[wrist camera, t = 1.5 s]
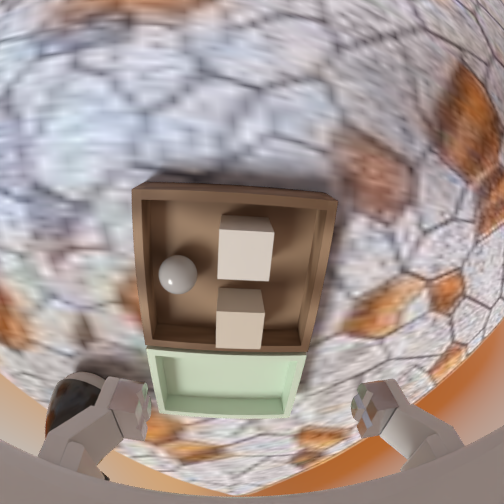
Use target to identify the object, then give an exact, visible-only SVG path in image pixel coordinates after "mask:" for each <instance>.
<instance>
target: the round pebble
mask: <svg viewBox="0 0 504 504" xmlns="http://www.w3.org/2000/svg"><path fill="white" fill-rule="evenodd" d="M159 280H160V283H161V285H162V286H163V288H164V289H165V290H167V291H168V292H170V293H172V294H184V293H186V292H188V291H190V290H191V289H192V288H193V287H194V285H195V283H196V281H197V269H196V266H195V264H194V263H193V262H192V261H191V260H190V259H189V258H187V257H185V256H182V255H173V256H170V257H168V258H167V259H165V260H164V261H163V263H162V264H161V266H160V268H159Z"/></svg>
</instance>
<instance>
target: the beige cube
mask: <svg viewBox="0 0 504 504" xmlns="http://www.w3.org/2000/svg"><path fill="white" fill-rule="evenodd" d="M264 317H265V310H264V305H263V299H262V293H261V290H260V289H236V288H218V298H217V311H216V348H232V349H260V348H261V340H262V333H263V325H264Z"/></svg>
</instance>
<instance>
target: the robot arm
mask: <svg viewBox="0 0 504 504" xmlns="http://www.w3.org/2000/svg"><path fill="white" fill-rule="evenodd" d="M357 391H358V394H357V395H356V396H355V397H354V398H353V400H352V403H351V412H352V415H353V418H354V419H355V420H357V421H358V425H357V428H358V431H359V433H360V436H361V438H367V437H372V436H378V435H380V437H382V439H384V440H385V441H386V442H387V443H388V444H390V445H391V446H392V447H393V448H394V449H396V450H397V451H398V452H399V453H400V454H402V455H403V456H404V457H405V458H407V459H408V461H407V462H406V463H405V464H404V465H403V466H402V468H401V469H400V470H401V472H399V473H396V474H392V475H389V476H386V477H382V478H379V479H375V480H371V481H367V482H363V483H358V484H354V485H349V486H344V487H340V488H334V489H328V490H323V491H316V492H308V493H300V494H291V495H279V496H264V497H263V496H261V497H216V496H215V497H214V496H198V495H187V494H177V493H169V492H162V491H155V490H149V489H143V488H138V487H133V486H128V485H124V484H119V483H115V482H111V481H107V480H104V479H105V477H104V475H103V474H102V473H101V471H100V470H99V469H98V467H97V466H96V464H97V463H98V462H100V461H101V460H102V459H103V458H104V457H105V456H106V455H107V454H108V453H109V452H110V451H111V450H113V449H114V448H115V447H116V446H117V445H118V444H119V443H120V442H121V441H122V440H123V438H126V439H132V440H139V441H145V437H146V433H147V425H146V422H147V421H148V420H149V419H150V415H151V399H150V396H149V395H147V392H148V386H147V383H145V382H139V381H133V380H128V379H122V378H116V377H111V376H109V377H108V378H107V379H106V380H105V383H104V385H103V387H102V389H101V392H100V394H99V396H98V399H97V401H96V404H95V406H89V407H88V408H86V409H85V410H83V411H82V412H80V413H79V414H77V415H75V416H74V417H72V418H71V419H69V420H67V421H66V422H64V423H63V424H61V425H60V426H58V427H56V428H55V429H53V430H51V431H50V432H48V434H47V437H46V439H45V441H44V443H43V446H42V448H41V450H40V453H39V455H38V457H36V456H34V455H32V454H29V453H27V452H25V451H23V450H21V449H19V448H17V447H14V446H13V445H11V444H9V443H7V442H5V441H3V440H1V439H0V504H504V426H502V427H500V428H499V429H497V430H495V431H493V432H491V433H490V434H488V435H486V436H484V437H482V438H481V439H478V440H477V441H475V442H473V443H471V444H469V445H467V446H464V444H463V443H462V441H461V439H460V437H459V436H458V434H457V433H456V431H455V429H454V428H453V427H452V426H451V425H449V424H447V423H445V422H444V421H442V420H440V419H438V418H436V417H435V416H433V415H431V414H429V413H428V412H426V411H424V410H422V409H421V408H419V407H417V406H415V405H414V404H411V405H410V403H409V402H408V400H407V398H406V397H405V395H404V393H403V392H402V390H401V388H400V387H399V385H398V383H397V382H396V380H394V379H388V380H382V381H374V382H367V383H361V384H360V385H359V386H358V389H357Z"/></svg>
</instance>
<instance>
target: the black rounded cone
mask: <svg viewBox="0 0 504 504" xmlns="http://www.w3.org/2000/svg"><path fill="white" fill-rule="evenodd" d="M104 383H105V379H103V378H102V377H100V376H98V375H95V374H92V373H88V372H76V373H73V374H70V375H68V376H67V377H66V378H64V379H63V380H61V381H59V382H58V383H57V385H56V387H55V389H54V391H53V394H52V397H51V400H50V403H49V406H48V411H47V416H46V425H45V439H46V437H47V434H48V432H50V431H51V430H53V429H55V428H56V427H58V426H60V425H61V424H63V423H64V422H66V421H67V420H69V419H71V418H72V417H74V416H75V415H77V414H79V413H80V412H82V411H83V410H85V409H86V408H88V407H89V406H95V404H96V401H97V399H98V396H99V394H100V392H101V389H102V387H103V385H104ZM102 460H103V459H102ZM102 460H101V461H102ZM101 461H100V462H101ZM100 462H98V463H97V464H96V466H97V465H98V464H99V463H100ZM101 473H102V472H101ZM102 474H103V475H104V477H105V479H104V480H107V481H109V480H110V479H109V478H108V477H107V476H106V475H105V474H104V473H102Z"/></svg>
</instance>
